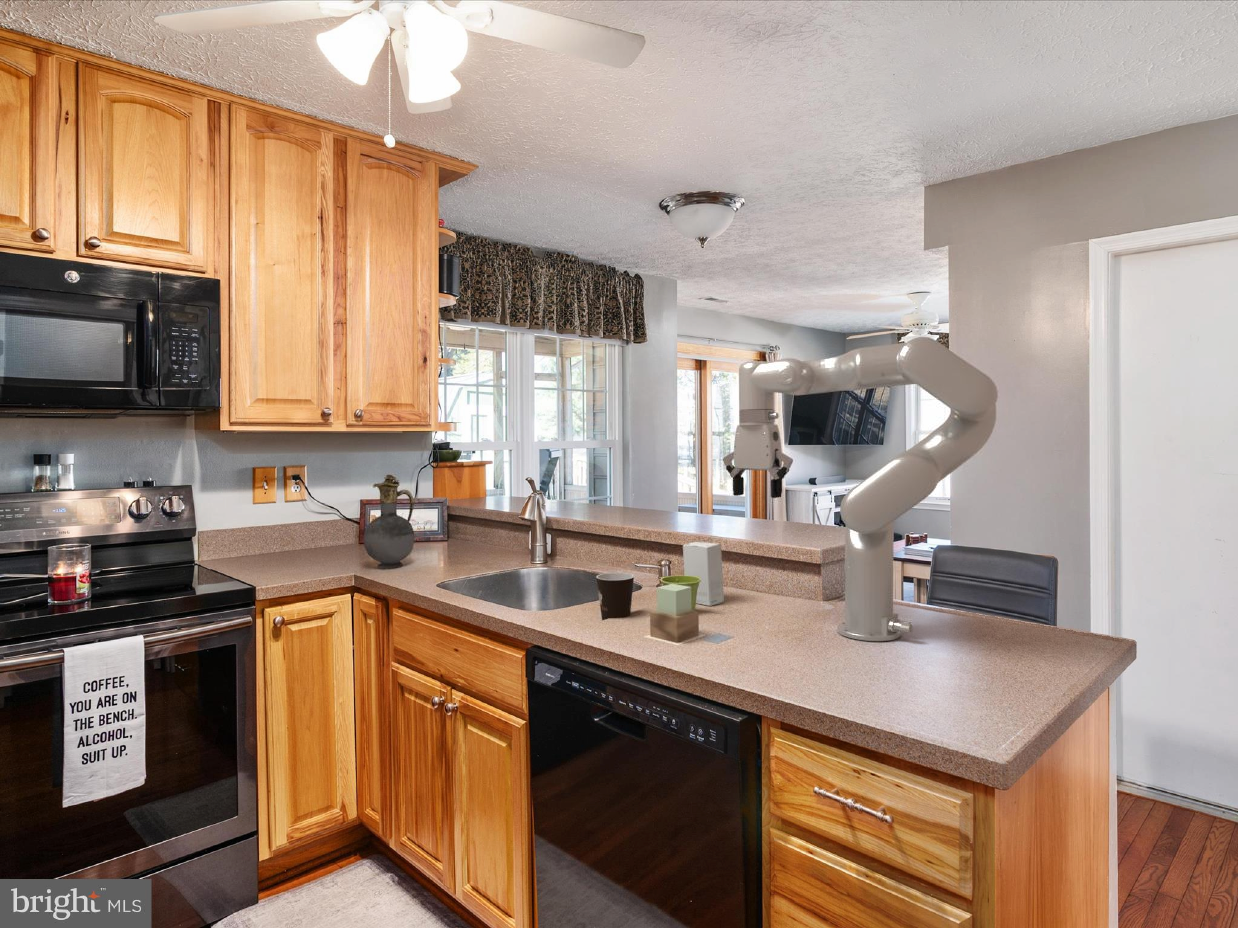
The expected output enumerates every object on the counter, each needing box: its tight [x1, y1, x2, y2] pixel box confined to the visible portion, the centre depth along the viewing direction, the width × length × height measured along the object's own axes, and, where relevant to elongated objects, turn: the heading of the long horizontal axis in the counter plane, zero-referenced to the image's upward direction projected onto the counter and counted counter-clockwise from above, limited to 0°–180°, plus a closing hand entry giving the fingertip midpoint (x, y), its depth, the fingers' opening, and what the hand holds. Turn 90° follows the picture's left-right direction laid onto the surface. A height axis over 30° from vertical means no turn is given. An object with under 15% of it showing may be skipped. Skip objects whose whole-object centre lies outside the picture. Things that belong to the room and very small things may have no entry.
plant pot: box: [660, 574, 701, 611], centre depth 169 cm, size 9×9×9 cm
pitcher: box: [363, 474, 415, 570], centre depth 237 cm, size 11×19×30 cm, turn 153°
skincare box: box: [682, 541, 725, 607], centre depth 182 cm, size 8×6×15 cm
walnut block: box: [649, 609, 700, 643], centre depth 148 cm, size 7×7×5 cm
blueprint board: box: [643, 632, 735, 646], centre depth 148 cm, size 20×16×1 cm
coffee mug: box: [595, 572, 635, 621], centre depth 168 cm, size 12×9×10 cm
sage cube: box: [656, 584, 692, 616], centre depth 148 cm, size 5×5×5 cm
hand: (757, 496), depth 160 cm, fingers open, 9 cm apart
